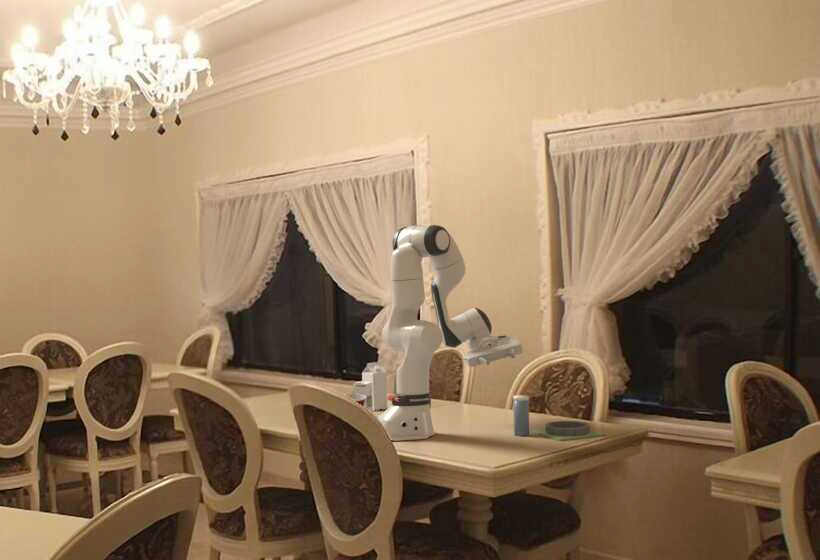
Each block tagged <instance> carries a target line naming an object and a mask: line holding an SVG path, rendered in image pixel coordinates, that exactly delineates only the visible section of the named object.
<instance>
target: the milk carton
mask: <svg viewBox="0 0 820 560" xmlns="http://www.w3.org/2000/svg"><path fill="white" fill-rule="evenodd" d="M381 362H382V361H376V362H375V361H374V362H369V363H366V366H365V367H364V369H363V371H362V372H361V378H362V379H361V381H368V382H372V410H373V411H372V412H375V410H376V411H381V410H380V409H382V410H387V409H388V400H387V398H386V397H387V396H388V392H387V391H388V388H387V387H388V382H387V371H386V369H385V368H384V367H383V365H382V363H381Z"/></svg>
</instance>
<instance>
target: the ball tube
mask: <svg viewBox="0 0 820 560" xmlns="http://www.w3.org/2000/svg"><path fill="white" fill-rule="evenodd" d="M512 397H513V429H514V431H513V433H514V434H513V435H514V436H515V437H528V436H530V401H529V400H530V397H529V395H525V394H517V395H516V394H514V395H513V396H512Z"/></svg>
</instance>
